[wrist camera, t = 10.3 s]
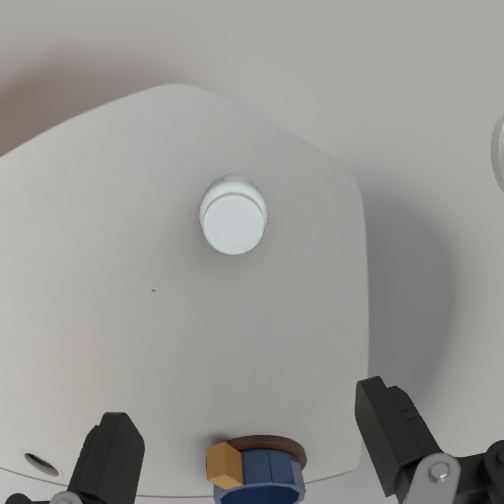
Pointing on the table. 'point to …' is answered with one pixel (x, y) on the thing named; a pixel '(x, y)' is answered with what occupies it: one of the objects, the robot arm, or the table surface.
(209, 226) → the pill bottle
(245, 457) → the serving bowl
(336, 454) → the table surface
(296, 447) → the turntable
